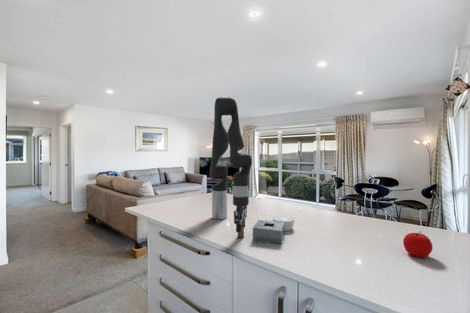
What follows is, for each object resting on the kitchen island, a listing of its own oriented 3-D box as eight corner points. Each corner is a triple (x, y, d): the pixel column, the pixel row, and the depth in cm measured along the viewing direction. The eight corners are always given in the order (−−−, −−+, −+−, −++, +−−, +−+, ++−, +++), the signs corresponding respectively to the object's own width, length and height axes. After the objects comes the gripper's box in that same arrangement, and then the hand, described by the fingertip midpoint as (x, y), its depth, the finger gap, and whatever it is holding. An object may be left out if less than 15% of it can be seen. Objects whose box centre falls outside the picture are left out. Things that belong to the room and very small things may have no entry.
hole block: (258, 231, 119) (258, 219, 119) (284, 234, 115) (284, 222, 115) (252, 240, 106) (252, 227, 106) (281, 244, 102) (281, 230, 102)
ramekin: (268, 228, 124) (268, 218, 124) (279, 223, 132) (280, 214, 132) (287, 233, 116) (287, 223, 116) (297, 228, 125) (298, 218, 124)
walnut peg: (238, 235, 113) (238, 215, 112) (244, 236, 112) (244, 215, 112) (236, 238, 110) (236, 217, 110) (242, 238, 109) (242, 217, 109)
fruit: (423, 262, 86) (424, 235, 85) (398, 252, 94) (398, 228, 94) (437, 258, 89) (438, 232, 89) (412, 249, 98) (412, 225, 97)
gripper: (237, 192, 118) (237, 224, 119) (228, 197, 105) (228, 233, 105) (252, 192, 116) (251, 225, 116) (244, 198, 102) (244, 235, 103)
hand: (240, 229), depth 111 cm, fingers open, 6 cm apart
